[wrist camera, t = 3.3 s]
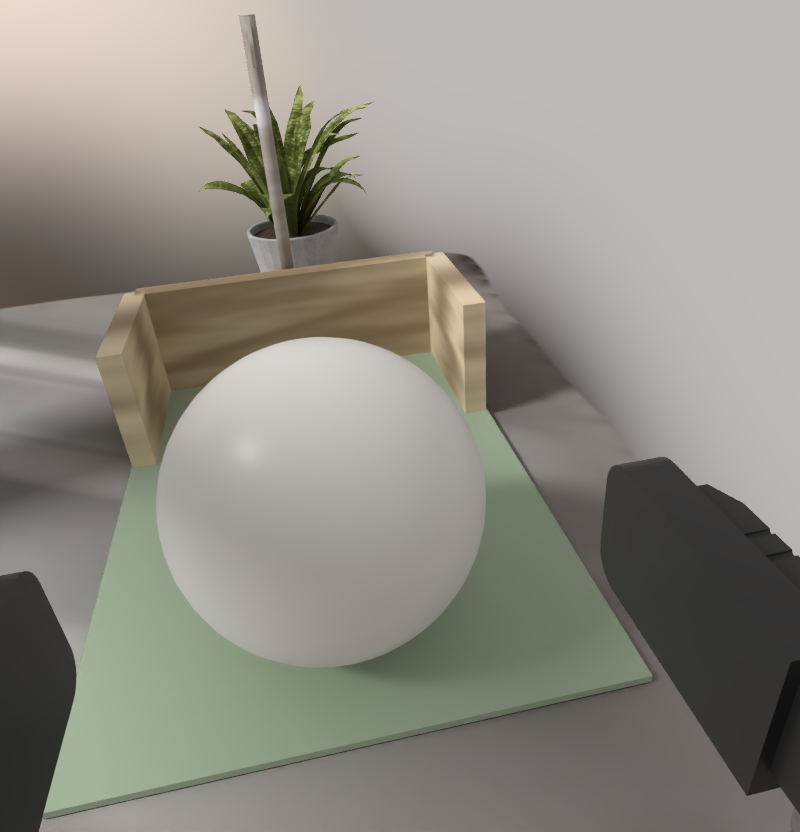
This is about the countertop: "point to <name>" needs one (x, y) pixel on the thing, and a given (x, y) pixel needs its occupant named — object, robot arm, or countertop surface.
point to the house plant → (290, 186)
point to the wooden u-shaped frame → (284, 314)
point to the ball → (321, 502)
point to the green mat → (331, 686)
